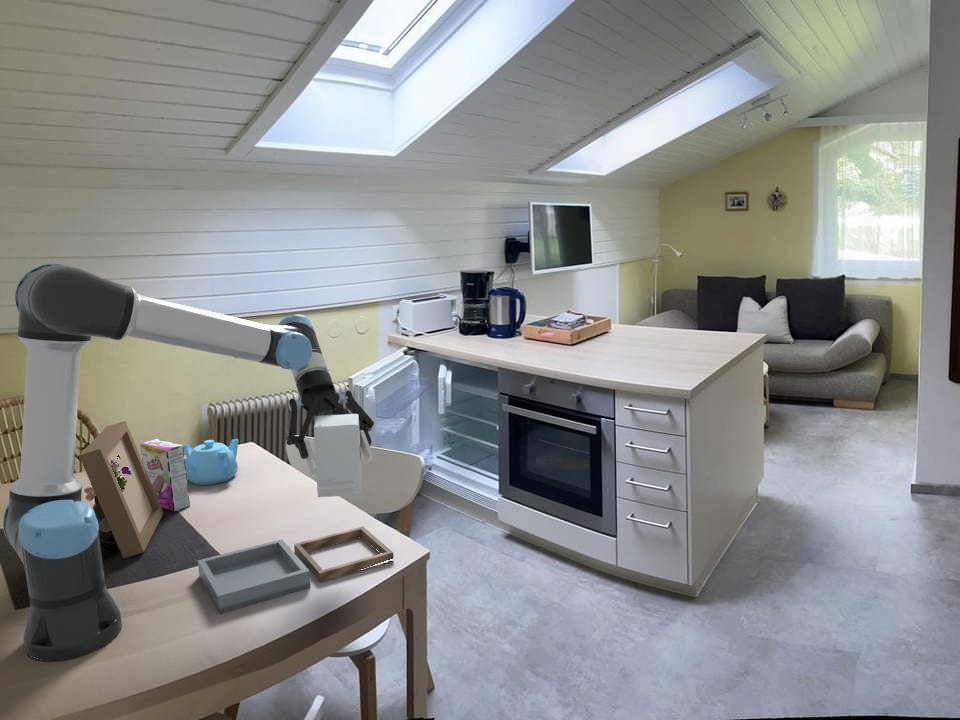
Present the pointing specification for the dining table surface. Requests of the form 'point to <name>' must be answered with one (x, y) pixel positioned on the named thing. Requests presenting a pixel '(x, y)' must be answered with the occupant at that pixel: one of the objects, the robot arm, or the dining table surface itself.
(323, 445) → the supplement box
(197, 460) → the teapot
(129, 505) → the photo frame
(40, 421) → the robot arm
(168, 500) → the candy bar box
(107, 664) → the dining table surface
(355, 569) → the walnut collar
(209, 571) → the grey tray
